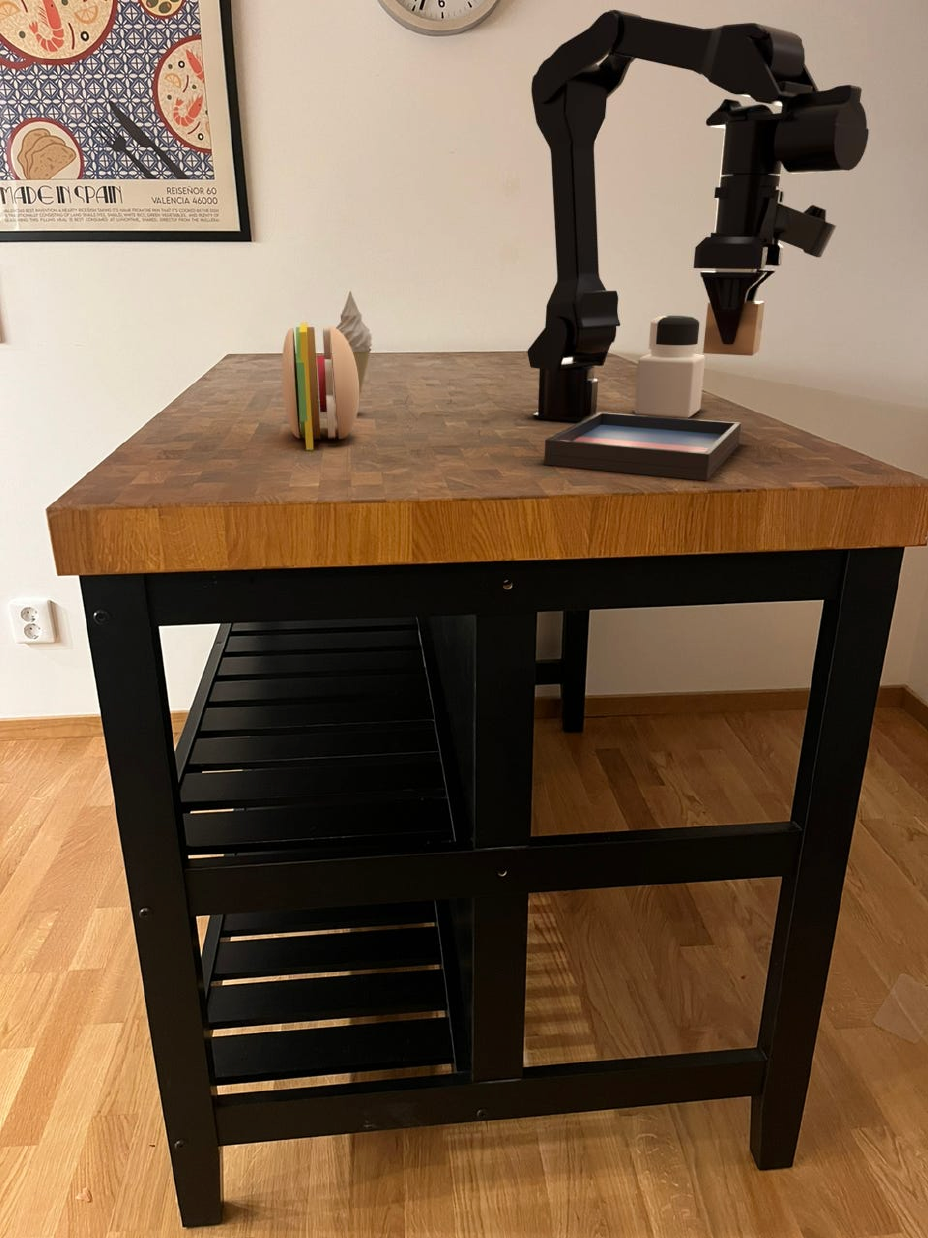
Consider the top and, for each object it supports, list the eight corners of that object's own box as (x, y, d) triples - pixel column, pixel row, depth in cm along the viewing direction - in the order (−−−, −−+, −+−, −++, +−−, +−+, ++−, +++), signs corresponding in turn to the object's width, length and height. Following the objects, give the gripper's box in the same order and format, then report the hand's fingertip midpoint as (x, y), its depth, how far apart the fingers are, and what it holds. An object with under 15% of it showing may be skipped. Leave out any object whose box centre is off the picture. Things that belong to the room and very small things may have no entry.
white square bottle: (700, 410, 123) (709, 315, 118) (688, 418, 117) (698, 318, 112) (647, 406, 125) (654, 313, 121) (633, 414, 119) (640, 316, 115)
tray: (544, 464, 92) (545, 439, 91) (597, 433, 107) (598, 411, 106) (706, 480, 86) (709, 454, 85) (738, 445, 101) (741, 422, 100)
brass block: (702, 353, 96) (707, 302, 94) (711, 348, 100) (716, 299, 98) (752, 355, 94) (758, 303, 92) (758, 350, 98) (764, 301, 96)
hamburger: (363, 448, 99) (359, 331, 95) (284, 450, 98) (276, 332, 94) (358, 427, 110) (354, 322, 106) (287, 429, 109) (280, 322, 105)
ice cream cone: (367, 418, 116) (362, 291, 110) (328, 417, 117) (322, 291, 111) (378, 412, 121) (375, 290, 115) (341, 410, 122) (336, 289, 116)
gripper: (831, 167, 80) (805, 354, 86) (842, 180, 96) (820, 337, 102) (701, 170, 84) (685, 349, 90) (732, 182, 100) (717, 333, 106)
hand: (732, 341), depth 97 cm, fingers closed on brass block, 5 cm apart
